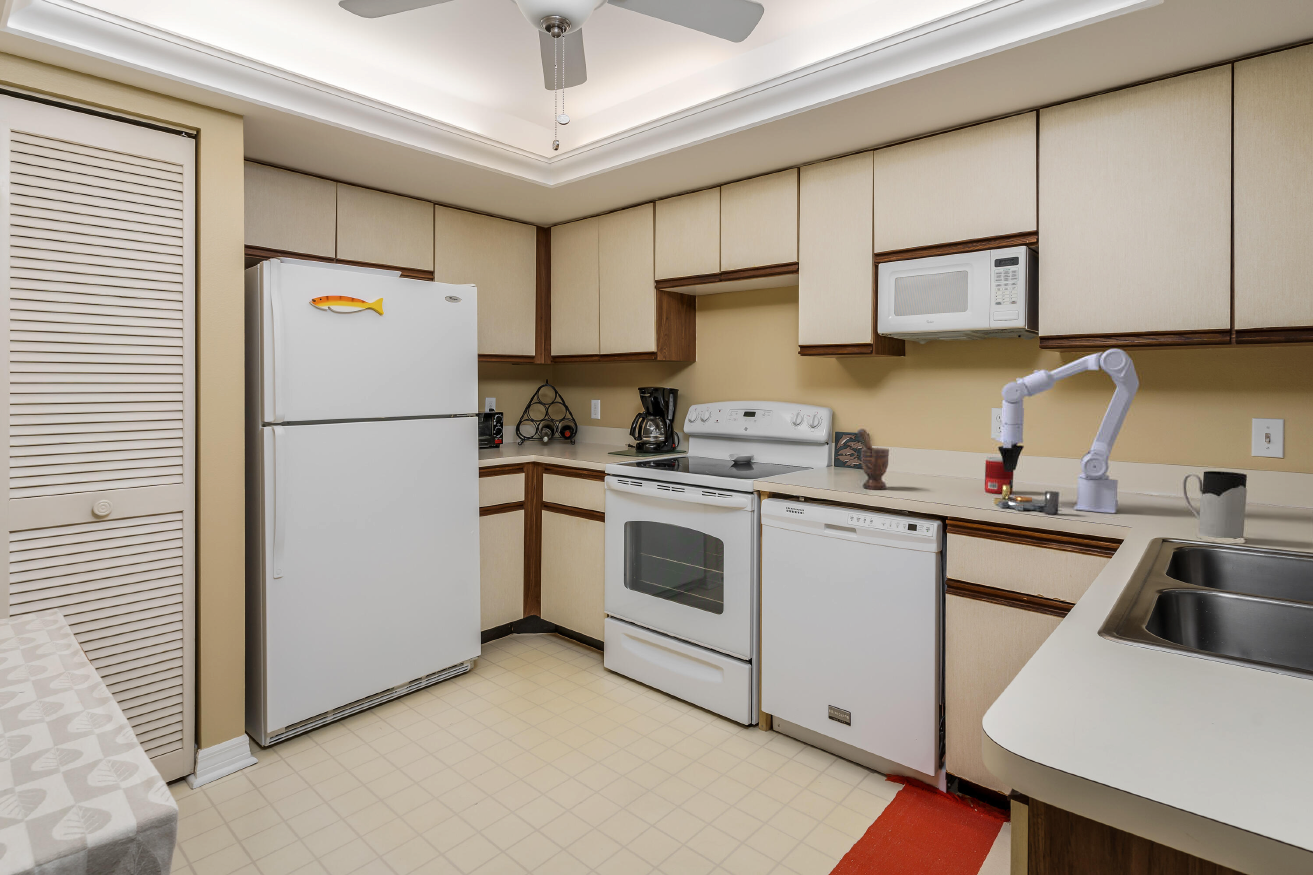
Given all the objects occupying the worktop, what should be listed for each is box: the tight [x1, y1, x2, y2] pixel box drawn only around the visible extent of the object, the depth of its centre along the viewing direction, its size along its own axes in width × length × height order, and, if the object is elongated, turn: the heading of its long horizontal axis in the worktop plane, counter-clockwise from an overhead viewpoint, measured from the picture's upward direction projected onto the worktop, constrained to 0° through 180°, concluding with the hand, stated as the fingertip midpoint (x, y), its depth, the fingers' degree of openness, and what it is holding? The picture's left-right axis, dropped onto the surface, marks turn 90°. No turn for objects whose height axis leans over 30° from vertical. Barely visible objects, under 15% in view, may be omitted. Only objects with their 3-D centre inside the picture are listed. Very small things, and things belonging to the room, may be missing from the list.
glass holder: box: [1182, 470, 1248, 539], centre depth 157 cm, size 9×14×15 cm, turn 9°
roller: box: [1043, 490, 1060, 516], centre depth 183 cm, size 3×3×6 cm
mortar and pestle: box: [857, 428, 890, 491], centre depth 224 cm, size 12×9×20 cm
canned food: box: [984, 456, 1015, 495], centre depth 217 cm, size 8×8×11 cm
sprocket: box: [993, 485, 1045, 512], centre depth 193 cm, size 15×15×6 cm
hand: (1010, 470), depth 199 cm, fingers open, 4 cm apart
